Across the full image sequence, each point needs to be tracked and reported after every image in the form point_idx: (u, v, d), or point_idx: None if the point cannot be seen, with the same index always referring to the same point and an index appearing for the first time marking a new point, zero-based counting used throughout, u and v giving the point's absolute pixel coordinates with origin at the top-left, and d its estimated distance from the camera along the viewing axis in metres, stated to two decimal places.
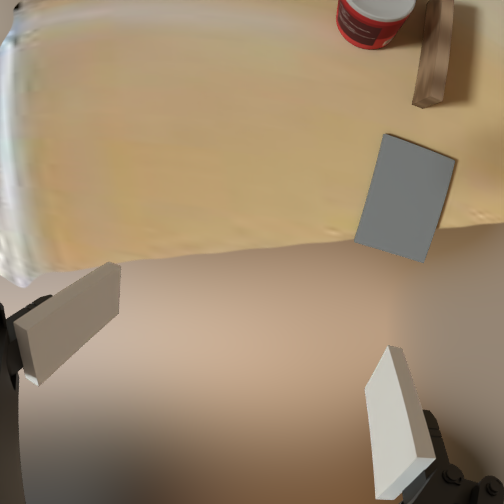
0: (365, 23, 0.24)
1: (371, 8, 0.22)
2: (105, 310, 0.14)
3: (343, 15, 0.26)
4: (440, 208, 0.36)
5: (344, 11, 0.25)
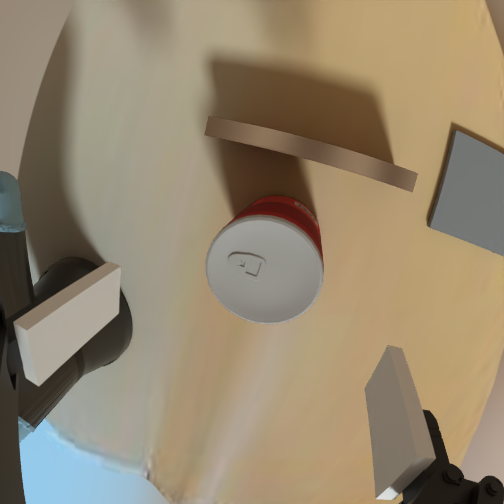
0: None
1: (302, 290, 0.21)
2: (105, 310, 0.14)
3: None
4: None
5: None
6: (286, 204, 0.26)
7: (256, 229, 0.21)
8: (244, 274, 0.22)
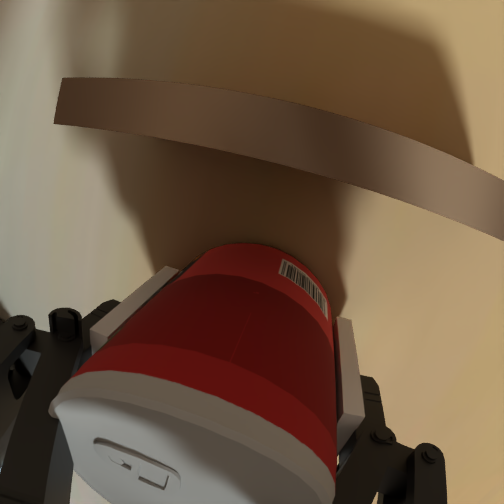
0: None
1: None
2: None
3: None
4: None
5: None
6: (255, 283, 0.11)
7: (135, 416, 0.06)
8: (137, 478, 0.07)
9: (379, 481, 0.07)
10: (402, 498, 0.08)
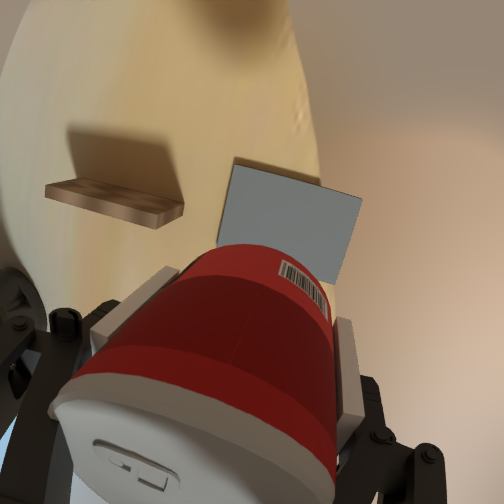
0: None
1: None
2: None
3: None
4: (293, 181, 0.33)
5: None
6: (255, 284, 0.11)
7: (134, 418, 0.06)
8: (136, 479, 0.07)
9: (379, 481, 0.07)
10: (402, 498, 0.08)
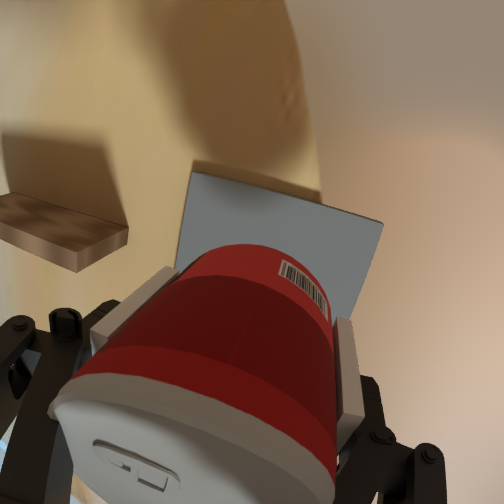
0: None
1: None
2: None
3: None
4: (279, 197, 0.22)
5: None
6: (255, 284, 0.10)
7: (134, 418, 0.06)
8: (137, 479, 0.07)
9: (379, 481, 0.07)
10: (402, 498, 0.08)
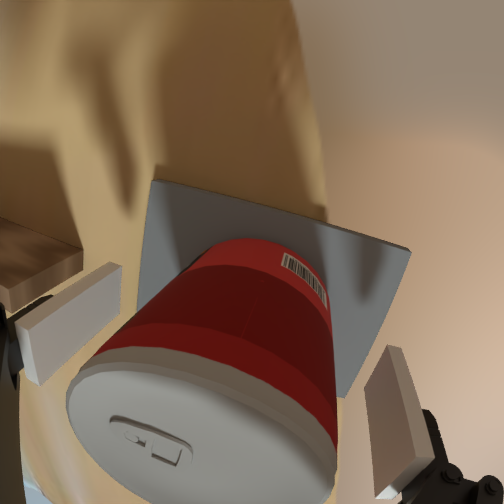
0: None
1: (283, 496, 0.07)
2: (106, 310, 0.14)
3: None
4: (269, 215, 0.16)
5: None
6: (260, 273, 0.11)
7: (154, 388, 0.07)
8: (150, 455, 0.08)
9: None
10: None
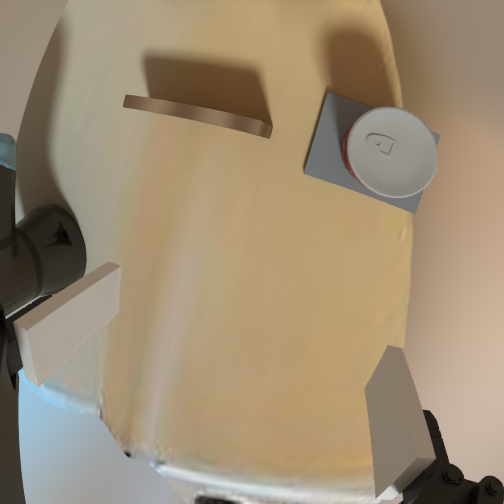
0: None
1: (422, 169, 0.23)
2: (105, 310, 0.14)
3: None
4: None
5: None
6: None
7: (390, 116, 0.23)
8: (378, 152, 0.24)
9: None
10: None
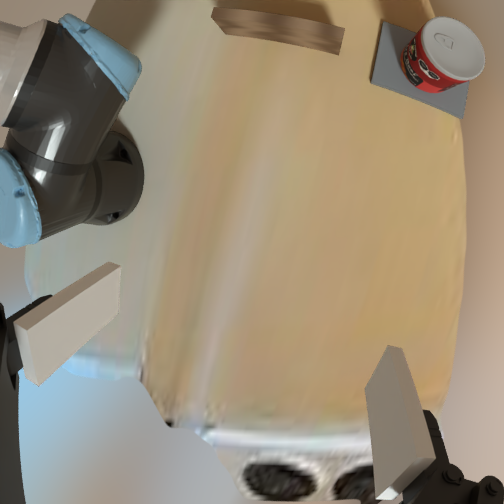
0: None
1: (475, 61, 0.24)
2: (105, 310, 0.14)
3: (456, 85, 0.28)
4: None
5: (461, 83, 0.27)
6: None
7: (448, 23, 0.23)
8: (444, 46, 0.24)
9: None
10: None
